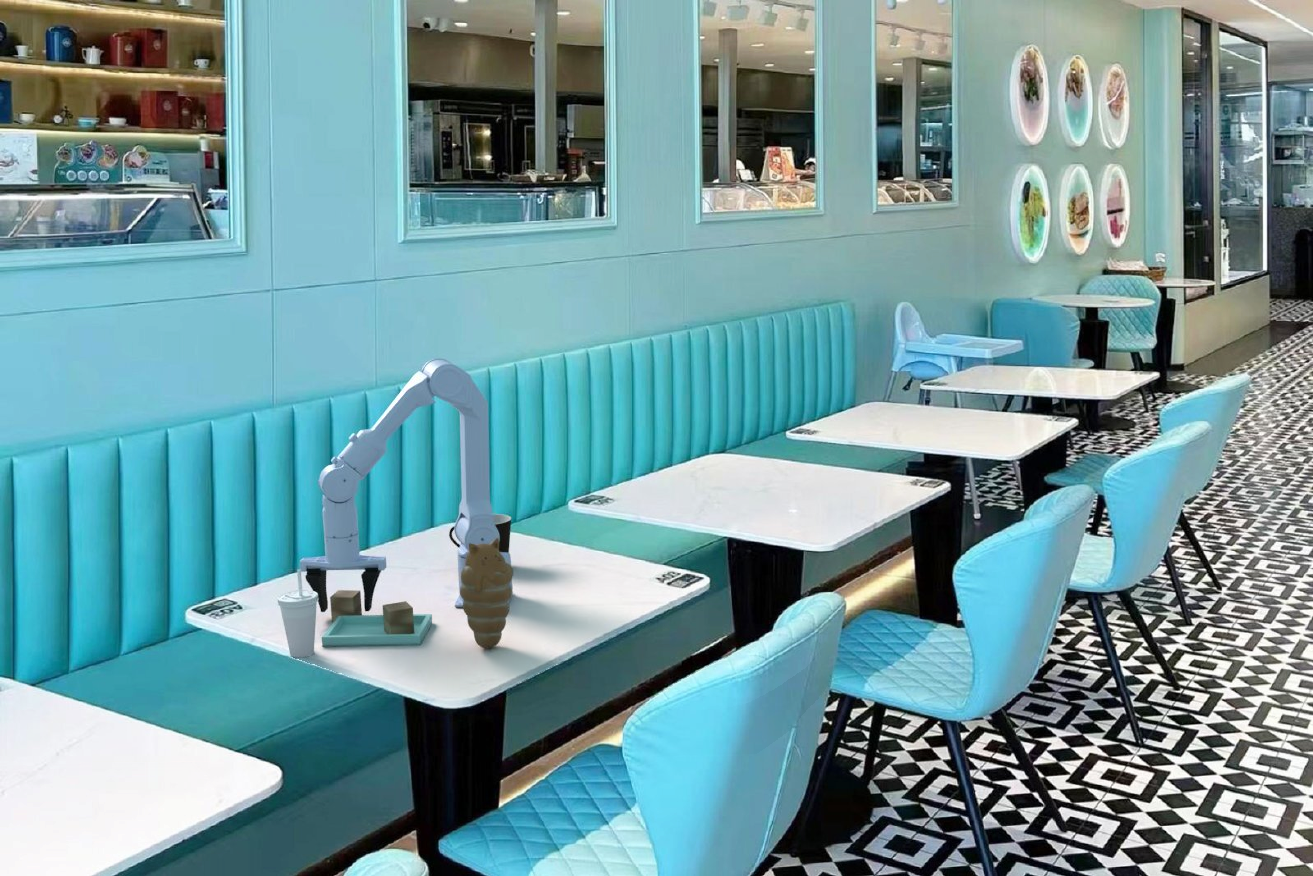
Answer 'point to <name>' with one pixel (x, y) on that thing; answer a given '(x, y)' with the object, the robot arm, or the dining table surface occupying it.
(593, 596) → the dining table surface
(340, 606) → the block
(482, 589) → the cat ice cream
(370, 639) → the tray
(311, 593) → the smoothie
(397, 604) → the block
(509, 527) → the coffee mug
